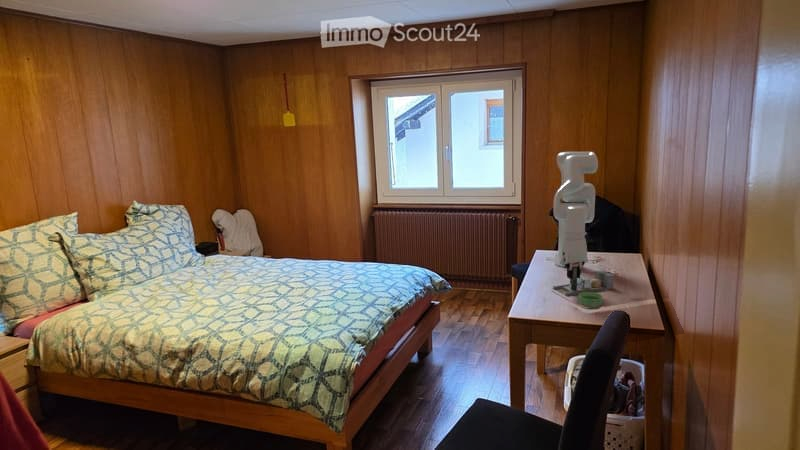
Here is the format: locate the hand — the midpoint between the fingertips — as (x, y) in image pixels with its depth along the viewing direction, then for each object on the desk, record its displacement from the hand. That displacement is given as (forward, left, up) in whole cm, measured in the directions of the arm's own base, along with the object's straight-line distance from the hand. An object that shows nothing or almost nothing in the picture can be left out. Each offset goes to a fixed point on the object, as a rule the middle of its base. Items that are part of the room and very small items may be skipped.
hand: (573, 277), depth 210 cm
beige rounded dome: (0, +11, -6) cm, 13 cm away
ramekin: (+15, -3, -7) cm, 17 cm away
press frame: (0, +6, -7) cm, 10 cm away
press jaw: (0, +1, -5) cm, 6 cm away
